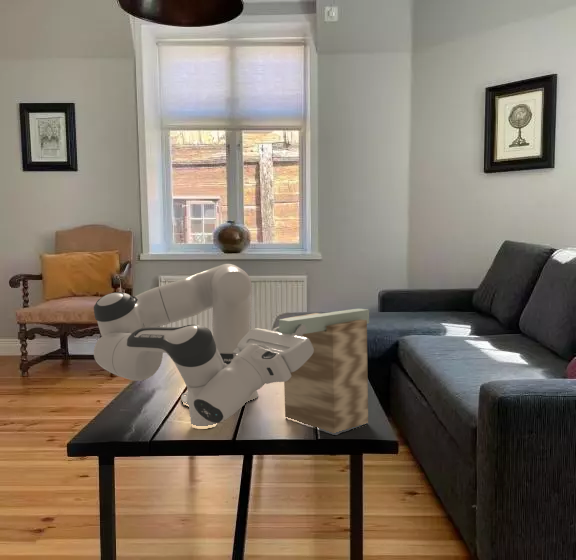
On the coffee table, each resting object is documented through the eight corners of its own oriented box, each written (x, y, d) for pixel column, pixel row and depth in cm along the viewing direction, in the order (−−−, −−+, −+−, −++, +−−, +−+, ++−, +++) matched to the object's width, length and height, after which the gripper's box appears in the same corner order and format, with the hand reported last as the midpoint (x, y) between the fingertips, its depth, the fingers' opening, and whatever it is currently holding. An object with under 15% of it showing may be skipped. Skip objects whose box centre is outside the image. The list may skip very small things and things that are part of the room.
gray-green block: (288, 336, 140) (288, 321, 140) (278, 334, 142) (278, 319, 142) (369, 323, 157) (369, 309, 157) (358, 321, 160) (359, 308, 160)
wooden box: (334, 436, 148) (332, 326, 145) (285, 419, 161) (282, 318, 158) (368, 424, 155) (366, 320, 153) (318, 408, 169) (316, 312, 166)
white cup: (221, 420, 162) (219, 382, 161) (218, 430, 154) (217, 391, 153) (190, 421, 162) (189, 383, 161) (187, 431, 154) (185, 392, 153)
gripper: (235, 366, 145) (273, 330, 153) (292, 382, 130) (332, 341, 137) (223, 345, 143) (262, 310, 150) (280, 359, 127) (321, 319, 135)
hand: (296, 325), depth 143 cm, fingers closed on gray-green block, 3 cm apart
